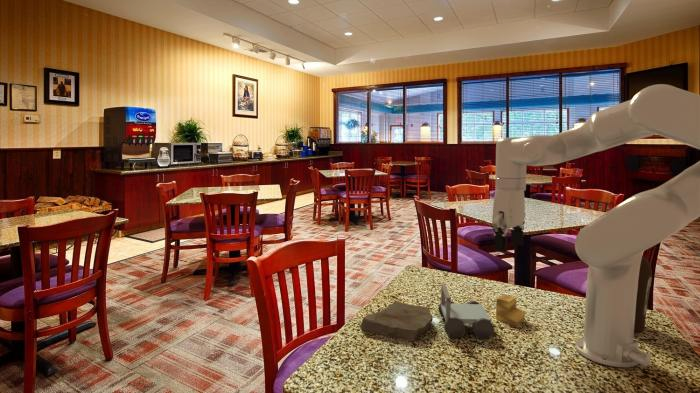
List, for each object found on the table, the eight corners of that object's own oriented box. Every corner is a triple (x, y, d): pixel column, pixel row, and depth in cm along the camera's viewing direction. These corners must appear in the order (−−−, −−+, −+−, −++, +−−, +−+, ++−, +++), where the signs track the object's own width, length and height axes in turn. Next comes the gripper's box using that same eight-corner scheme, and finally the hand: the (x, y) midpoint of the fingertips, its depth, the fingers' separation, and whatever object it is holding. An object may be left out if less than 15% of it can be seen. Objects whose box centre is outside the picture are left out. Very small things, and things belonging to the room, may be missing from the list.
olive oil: (602, 330, 104) (609, 235, 101) (596, 314, 114) (601, 227, 111) (652, 337, 100) (660, 239, 97) (641, 320, 109) (648, 230, 106)
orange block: (524, 320, 110) (525, 299, 110) (517, 325, 107) (518, 304, 107) (503, 314, 115) (504, 294, 114) (495, 319, 112) (496, 298, 111)
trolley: (481, 318, 112) (482, 283, 111) (493, 339, 100) (495, 300, 98) (438, 317, 113) (438, 282, 112) (444, 338, 101) (445, 299, 99)
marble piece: (359, 331, 106) (359, 316, 105) (383, 311, 118) (383, 297, 118) (420, 346, 97) (420, 329, 97) (438, 323, 110) (438, 308, 110)
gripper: (511, 181, 115) (509, 240, 117) (481, 186, 103) (480, 251, 105) (538, 182, 110) (536, 244, 112) (509, 187, 98) (508, 256, 100)
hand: (509, 247), depth 108 cm, fingers open, 9 cm apart
